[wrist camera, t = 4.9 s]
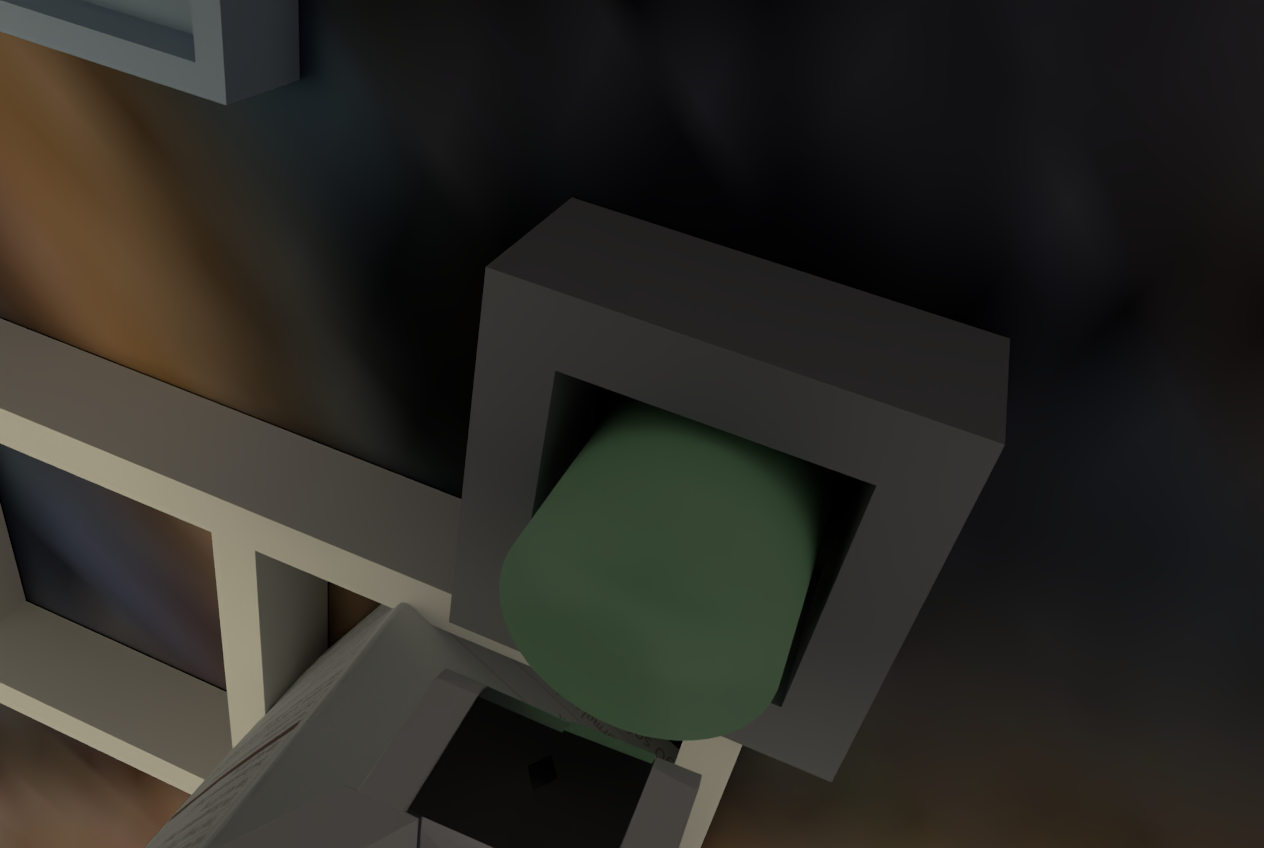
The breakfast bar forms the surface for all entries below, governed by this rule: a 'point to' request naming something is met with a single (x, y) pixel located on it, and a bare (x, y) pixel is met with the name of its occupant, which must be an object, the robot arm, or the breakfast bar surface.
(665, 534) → the button
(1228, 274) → the breakfast bar surface
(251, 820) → the supplement box
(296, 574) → the white open frame
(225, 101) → the tray
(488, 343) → the button housing
